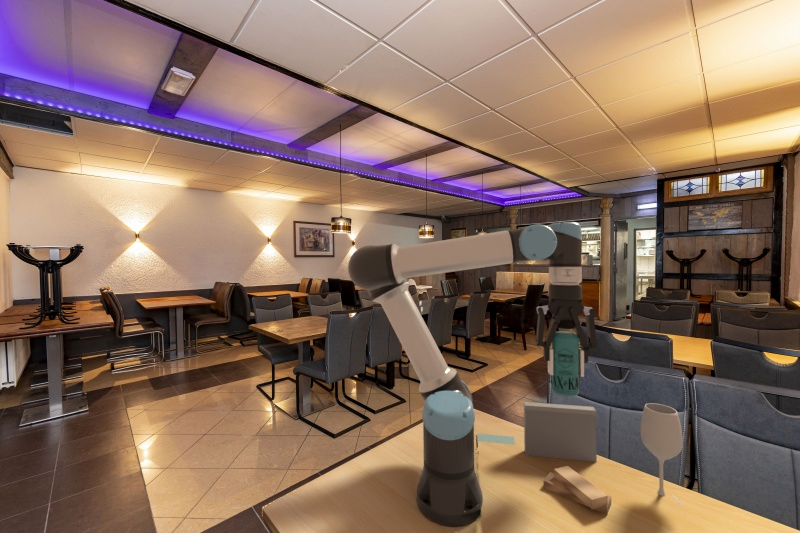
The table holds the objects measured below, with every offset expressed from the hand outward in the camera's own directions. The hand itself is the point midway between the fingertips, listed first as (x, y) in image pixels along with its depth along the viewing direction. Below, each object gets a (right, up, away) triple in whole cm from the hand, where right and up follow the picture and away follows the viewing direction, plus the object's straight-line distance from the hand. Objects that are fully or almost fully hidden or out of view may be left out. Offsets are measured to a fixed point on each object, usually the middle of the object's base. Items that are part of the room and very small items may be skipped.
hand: (565, 374), depth 84 cm
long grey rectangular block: (+2, -26, +7) cm, 28 cm away
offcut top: (-1, -24, -9) cm, 25 cm away
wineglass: (+18, -27, -8) cm, 33 cm away
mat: (-13, -27, +15) cm, 33 cm away
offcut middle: (-2, -26, -8) cm, 27 cm away
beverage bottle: (0, -6, 0) cm, 6 cm away
